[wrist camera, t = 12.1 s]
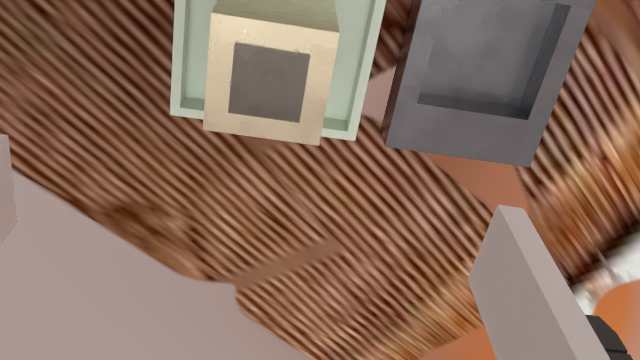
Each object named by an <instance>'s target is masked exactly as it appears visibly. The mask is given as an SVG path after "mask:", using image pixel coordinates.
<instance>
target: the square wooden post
mask: <svg viewBox="0 0 640 360" xmlns="http://www.w3.org/2000/svg"><path fill="white" fill-rule="evenodd" d="M339 35H340V31H339V25H338V20H337V14H336V8H335V2H334V0H217V2H216V4H215V6H214V8H213V10H212V12H211V21H210V35H209V48H208V62H207V76H206V90H205V104H204V117H203V130H208V131H216V132H223V133H230V134H237V135H245V136H252V137H259V138H267V139H274V140H281V141H288V142H296V143H303V144H310V145H317V146H319V143H320V137H321V132H322V127H323V121H324V116H325V110H326V105H327V100H328V94H329V89H330V83H331V78H332V73H333V67H334V62H335V56H336V51H337V46H338V40H339Z"/></svg>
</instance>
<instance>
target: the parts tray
mask: <svg viewBox="0 0 640 360" xmlns="http://www.w3.org/2000/svg"><path fill="white" fill-rule="evenodd" d="M216 2H217V0H175V10H174V33H173V55H172V78H171V100H170V115H175V116H182V117H189V118H196V119H203V117H204V104H205V90H206V76H207V62H208V48H209V35H210V21H211V12H212V10H213V8H214V6H215V4H216ZM334 2H335V8H336V14H337V20H338V25H339V31H340V35H339V40H338V46H337V51H336V56H335V62H334V67H333V73H332V78H331V83H330V89H329V94H328V100H327V105H326V110H325V116H324V121H323V127H322V132H321V136H323V137H330V138H337V139H344V140H351V141H355V139H356V134H357V130H358V125H359V121H360V116H361V112H362V107H363V103H364V98H365V94H366V89H367V85H368V80H369V76H370V71H371V67H372V62H373V58H374V53H375V49H376V45H377V40H378V36H379V31H380V27H381V22H382V18H383V13H384V9H385V4H386V0H334Z"/></svg>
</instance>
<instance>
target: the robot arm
mask: <svg viewBox="0 0 640 360" xmlns="http://www.w3.org/2000/svg"><path fill="white" fill-rule="evenodd" d="M13 189H14V188H13V180H12V168H11V158H10V148H9V138H8V135H3V134H0V246H1V244H2V243H3V242H4V240H5V239H6V237H7V236H8V235H9V233H10V232H11V230H12V229H13V227H14V226H15V225H16V223H17V219H16V209H15V199H14V190H13ZM468 282H469V285H470V287H471V290H472V293H473V296H474V298H475V301H476V304H477V307H478V309H479V312H480V315H481V318H482V320H483V323H484V326H485V329H486V331H487V334H488V337H489V340H490V342H491V345H492V348H493V351H494V353H495V356H496V359H497V360H633V359H632V358H631V356H630V355H629V354H627V349H626V348H625V346H624V345H623V343H622V341H621V340H620V338H619V336H618V335H617V333H616V332H615V331H614V330H612V329H611V327H609V326H608V325H607V324H606V323H605V322H604V321H603V320H602V319H601V318H600V317H599V316H591V315H584V313H583V311H582V309H581V308H580V306H579V304H578V302H577V301H576V299H575V297H574V295H573V294H572V292H571V290H570V288H569V287H568V285H567V283H566V281H565V280H564V278H563V276H562V275H561V273H560V271H559V269H558V268H557V266H556V264H555V262H554V261H553V259H552V257H551V255H550V254H549V252H548V250H547V248H546V247H545V245H544V243H543V241H542V240H541V238H540V236H539V235H538V233H537V231H536V229H535V228H534V226H533V224H532V222H531V221H530V219H529V217H528V215H527V214H526V212H525V211H524V208H517V207H510V206H504V205H497V207H496V210H495V212H494V215H493V217H492V220H491V222H490V225H489V227H488V230H487V232H486V235H485V237H484V240H483V242H482V245H481V247H480V250H479V252H478V255H477V257H476V260H475V262H474V265H473V267H472V270H471V272H470V275H469V277H468Z"/></svg>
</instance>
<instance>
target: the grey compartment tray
mask: <svg viewBox="0 0 640 360" xmlns="http://www.w3.org/2000/svg"><path fill="white" fill-rule="evenodd" d="M595 2H596V0H413V1H412V5H411V9H410V13H409V17H408V21H407V25H406V29H405V33H404V37H403V41H402V46H401V50H400V54H399V58H398V62H397V66H396V70H395V74H394V78H393V82H392V87H391V91H390V95H389V99H388V103H387V107H386V111H385V115H384V119H383V123H382V127H381V133H382V137H383V141H384V144H385V147H391V148H398V149H405V150H412V151H419V152H426V153H433V154H441V155H448V156H454V157H462V158H469V159H476V160H483V161H490V162H497V163H504V164H511V165H518V166H525V167H530V165H531V162H532V160H533V157H534V155H535V152H536V150H537V147H538V145H539V142H540V140H541V137H542V135H543V132H544V130H545V127H546V125H547V122H548V120H549V117H550V115H551V112H552V110H553V107H554V105H555V102H556V100H557V97H558V95H559V92H560V90H561V87H562V85H563V82H564V80H565V77H566V75H567V72H568V70H569V67H570V65H571V62H572V60H573V57H574V55H575V52H576V50H577V47H578V45H579V42H580V40H581V37H582V35H583V32H584V30H585V27H586V25H587V22H588V20H589V17H590V15H591V12H592V10H593V7H594V5H595Z"/></svg>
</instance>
